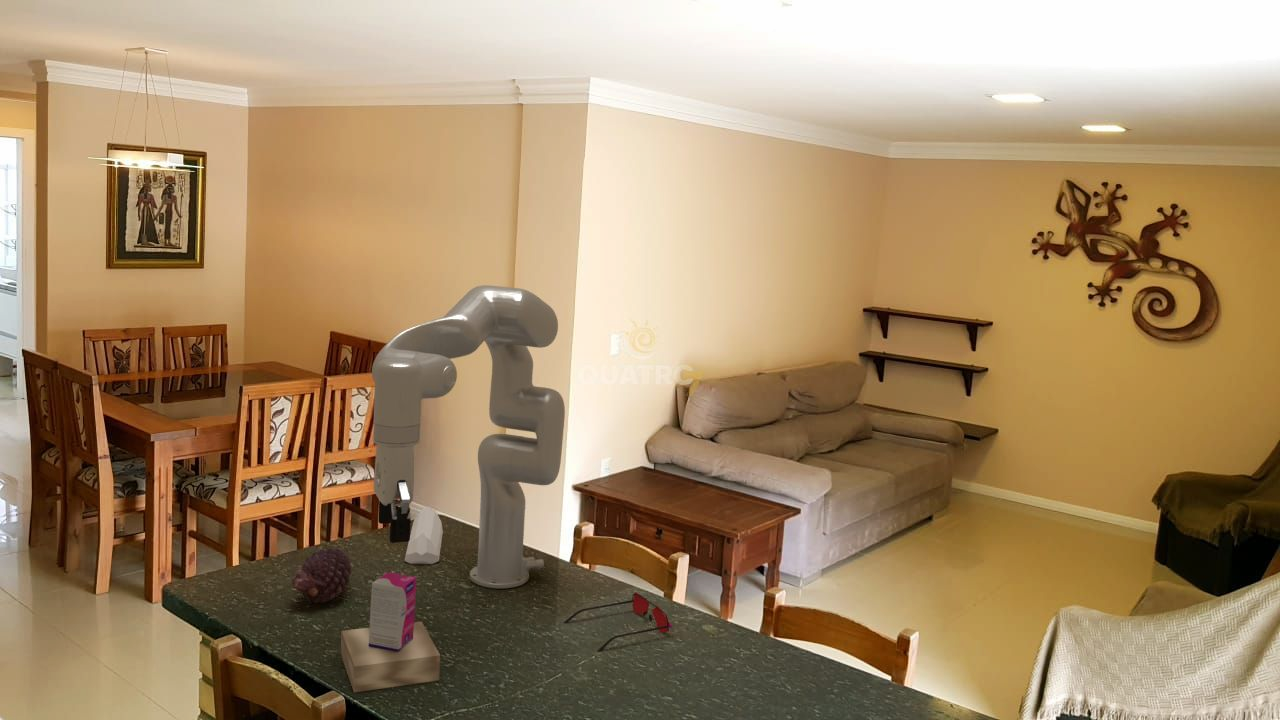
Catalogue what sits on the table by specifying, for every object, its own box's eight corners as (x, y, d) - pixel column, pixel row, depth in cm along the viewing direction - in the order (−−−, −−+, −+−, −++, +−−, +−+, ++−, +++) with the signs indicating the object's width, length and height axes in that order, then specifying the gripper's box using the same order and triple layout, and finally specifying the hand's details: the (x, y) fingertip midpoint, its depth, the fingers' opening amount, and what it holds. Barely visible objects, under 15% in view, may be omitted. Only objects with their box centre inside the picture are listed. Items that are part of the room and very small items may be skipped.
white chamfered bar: (447, 550, 218) (451, 516, 241) (418, 534, 216) (425, 501, 240) (429, 578, 218) (434, 541, 242) (400, 562, 217) (409, 526, 240)
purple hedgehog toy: (325, 578, 207) (326, 532, 206) (369, 585, 206) (370, 538, 204) (279, 611, 190) (279, 561, 189) (327, 618, 189) (328, 568, 187)
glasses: (672, 638, 191) (674, 614, 191) (597, 654, 183) (599, 628, 182) (635, 611, 203) (636, 588, 202) (563, 624, 194) (564, 600, 193)
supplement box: (399, 652, 167) (401, 588, 165) (367, 647, 168) (369, 582, 167) (415, 638, 173) (417, 576, 171) (383, 633, 174) (385, 570, 172)
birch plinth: (420, 645, 180) (421, 621, 180) (439, 680, 168) (440, 655, 167) (340, 655, 174) (341, 630, 174) (354, 692, 162) (354, 666, 161)
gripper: (364, 422, 171) (362, 517, 174) (383, 447, 156) (380, 551, 158) (408, 420, 174) (405, 514, 177) (431, 445, 159) (427, 547, 162)
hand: (393, 531), depth 168 cm, fingers open, 9 cm apart
